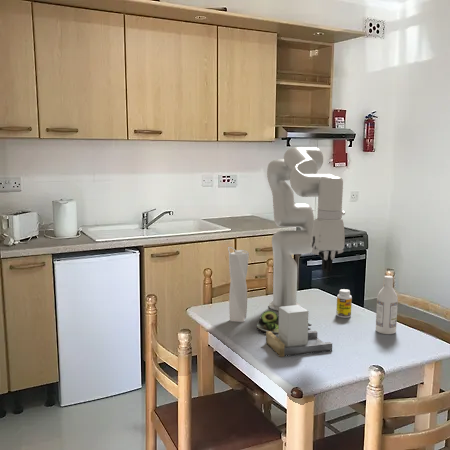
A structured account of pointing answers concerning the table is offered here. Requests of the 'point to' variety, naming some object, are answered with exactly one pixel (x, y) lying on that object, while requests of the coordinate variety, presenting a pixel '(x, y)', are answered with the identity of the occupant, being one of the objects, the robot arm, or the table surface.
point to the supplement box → (293, 325)
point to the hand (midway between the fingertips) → (326, 270)
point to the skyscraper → (238, 285)
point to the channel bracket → (312, 346)
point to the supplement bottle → (344, 303)
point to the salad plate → (269, 323)
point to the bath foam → (387, 308)
